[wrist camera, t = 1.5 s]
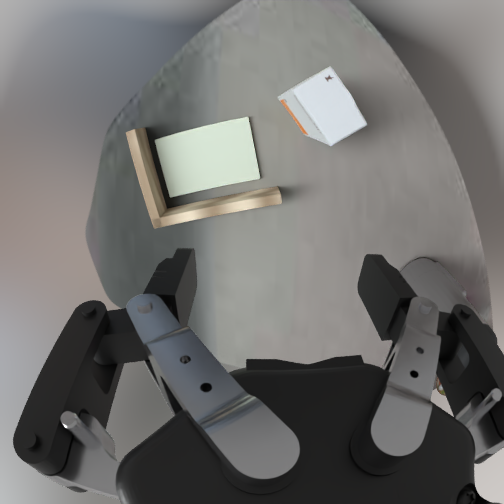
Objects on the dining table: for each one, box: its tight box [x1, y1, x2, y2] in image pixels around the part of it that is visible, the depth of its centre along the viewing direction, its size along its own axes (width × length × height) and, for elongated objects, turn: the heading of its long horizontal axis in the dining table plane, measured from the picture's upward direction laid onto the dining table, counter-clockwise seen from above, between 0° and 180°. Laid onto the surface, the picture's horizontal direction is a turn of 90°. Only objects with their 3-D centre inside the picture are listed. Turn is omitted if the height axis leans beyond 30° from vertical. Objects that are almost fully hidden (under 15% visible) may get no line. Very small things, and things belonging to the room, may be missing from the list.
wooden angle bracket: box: [126, 128, 282, 228], centre depth 31 cm, size 16×13×4 cm
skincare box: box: [278, 66, 367, 146], centre depth 24 cm, size 6×4×12 cm
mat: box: [155, 117, 260, 198], centre depth 32 cm, size 12×8×1 cm, turn 101°
